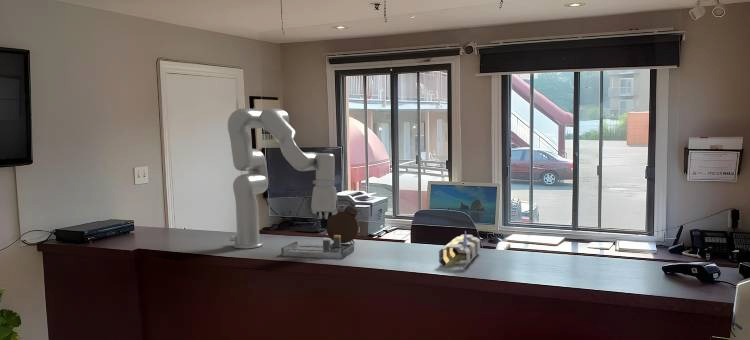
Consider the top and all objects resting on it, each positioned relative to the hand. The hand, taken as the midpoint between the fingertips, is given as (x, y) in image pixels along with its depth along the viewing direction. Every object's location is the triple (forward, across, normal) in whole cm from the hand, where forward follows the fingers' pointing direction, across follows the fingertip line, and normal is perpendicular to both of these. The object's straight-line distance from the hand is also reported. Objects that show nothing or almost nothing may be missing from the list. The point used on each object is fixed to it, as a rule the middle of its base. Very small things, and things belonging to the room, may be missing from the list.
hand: (324, 228), depth 226 cm
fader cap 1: (+7, +4, -7) cm, 11 cm away
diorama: (+8, +56, -4) cm, 57 cm away
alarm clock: (+10, +3, +16) cm, 19 cm away
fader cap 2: (+7, +6, 0) cm, 9 cm away
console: (+10, -1, -4) cm, 11 cm away
